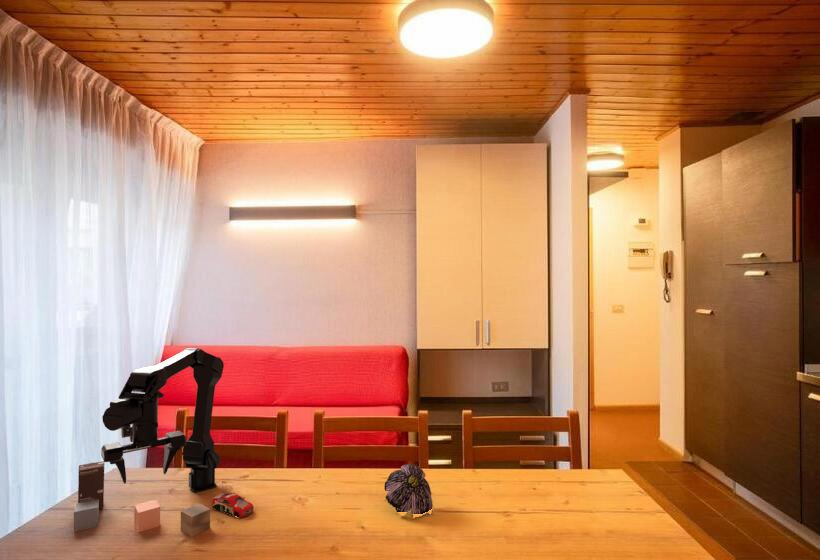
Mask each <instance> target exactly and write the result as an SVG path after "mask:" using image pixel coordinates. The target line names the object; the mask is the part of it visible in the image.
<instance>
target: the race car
mask: <svg viewBox="0 0 820 560" xmlns="http://www.w3.org/2000/svg"><path fill="white" fill-rule="evenodd" d="M211 507H212V509H214V510H215V509H216V510H215V511H217V510H218V512H221V511H222V512H221V513H223V512H225V513H224V514H226V513H228V514H227V515H229V514H231V515H230V516H232V515H233V516H232V517H235V516H237V517H240V518H244V516H245V517H247V516H250V515H251V514H252V513H254V508H255V507H254V504H253V503H252V502H250V501H248V500H246V497H245V496H244V497H243V496H242V495H239V494H236V493H233V492H224V493H219V494H217V495H216V496H214V497H213V498H212V501H211Z"/></svg>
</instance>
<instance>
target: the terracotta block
mask: <svg viewBox="0 0 820 560" xmlns="http://www.w3.org/2000/svg"><path fill="white" fill-rule="evenodd" d="M133 509H134V511H133V514H134V515H133V525H134V527H135V528H136V531H137V532H138V533H141V532H143V531H147V530H150V529H153V528H156V527H160V526H161V505H160V504H159V502H158V501H157V499H153V500H148V501H145V502H142V503H137V504H134V508H133Z"/></svg>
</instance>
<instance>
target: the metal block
mask: <svg viewBox="0 0 820 560" xmlns="http://www.w3.org/2000/svg"><path fill="white" fill-rule="evenodd" d="M208 528H209V529H211V508H209V507H208V506H205V505H203V504H202V503H197V504H193V505H191V506H190V507H187V508H185V509H182V510H181V511H180V531H181V532H183V533H184V534H186V535H188V536H190V537H194V536H196V535H198V534H200V533H203V532H205V531H207V530H209V529H208Z"/></svg>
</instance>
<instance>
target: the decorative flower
mask: <svg viewBox="0 0 820 560" xmlns="http://www.w3.org/2000/svg"><path fill="white" fill-rule="evenodd" d="M383 487H384V489H383V490H384V491H385V492H387V494H386V496H385V500H387V501H386V502H387V504H388V505H390V506H392V507H393V508H395V511H396V512H408V511H409V512H410V510H411V515H412V514H423V513H425V512H428V511H429V510H431V509H432V507H433V508H434V506H433V504H434V503H433V499H432V491H431V486H430V484H429V482H428V481H427V480H426V473H425V472H424V470H423V469H422V468H421V467H420V466H418V465H416V464H411V463H409V464H403V465H401V466H400V469H396V470H394V471H392V472H391V473H390V474H389V476H388V477H387V479H386V481H385V482H384V486H383ZM409 512H408V513H409Z"/></svg>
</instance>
